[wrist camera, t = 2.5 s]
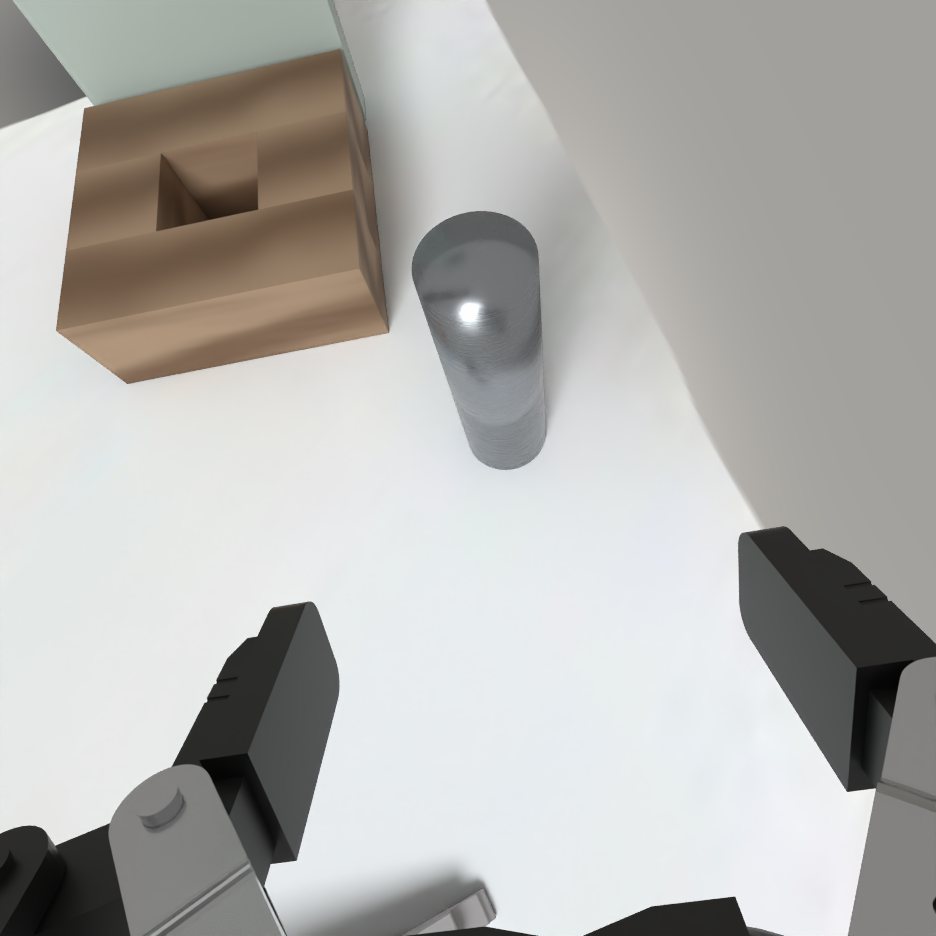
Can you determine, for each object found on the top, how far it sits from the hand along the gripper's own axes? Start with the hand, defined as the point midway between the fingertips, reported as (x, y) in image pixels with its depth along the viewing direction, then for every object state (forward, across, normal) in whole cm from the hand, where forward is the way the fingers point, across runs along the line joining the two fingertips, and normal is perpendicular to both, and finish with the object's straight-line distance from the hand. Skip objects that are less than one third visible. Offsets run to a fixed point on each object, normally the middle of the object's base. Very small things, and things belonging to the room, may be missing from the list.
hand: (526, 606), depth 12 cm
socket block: (+27, +12, -6) cm, 30 cm away
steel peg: (+17, 0, +3) cm, 17 cm away
